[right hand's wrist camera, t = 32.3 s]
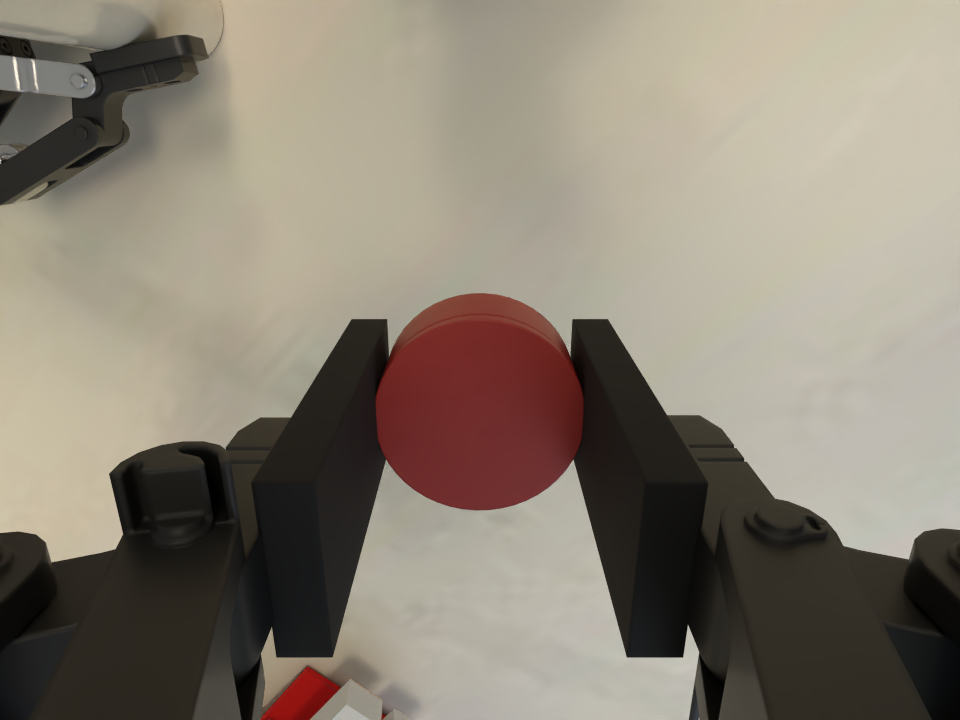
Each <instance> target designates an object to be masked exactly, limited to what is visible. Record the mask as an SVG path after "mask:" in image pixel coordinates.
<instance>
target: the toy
mask: <svg viewBox="0 0 960 720" xmlns="http://www.w3.org/2000/svg"><path fill="white" fill-rule="evenodd" d="M382 705H383V700H382V699H380V698H379V697H377V696H376V695H374V694H373V693H371V692H370V691H368V690H367V689H365V688H364V687H362V686H361V685H359V684H358V683H356V682H355V681H353V680H352V679H349V680H348V681H347V682H346V684H345V685H344V686H343V687H342V688H341V687H339V686H338V685H336V684H335V683H333V682H331V681H330V680H328V679H327V678H325V677H324V676H322V675H320V674H319V673H317V672H316V671H314V670H312V669H311V668H309V667H308V666H307V667H306V668H305V670H304V671H303V672H302V673H301V674H300V675H299V676H298V677H297V678H296V680H295V681H294V682H293V683H292V684H291V685H290V686H289V687H288V688H287V690H286V691H285V692H284V693H283V694H282V695H281V696H280V697H279V698H278V700H277V701H276V702H275V703H274V704H273V705H272V706H271V707H270V708H269V709H268V711H267V712H266V713H265V714H264V715H263V716H262V717H261V720H412V719H410V718H409V717H407V716H406V715H404V714H403V713H401V712H400V711H398V710H397V709H395V708H394V709H393V710H392V711H391V712H390V713H389V714H388V715H387V716H386V715H384V714H382Z"/></svg>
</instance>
